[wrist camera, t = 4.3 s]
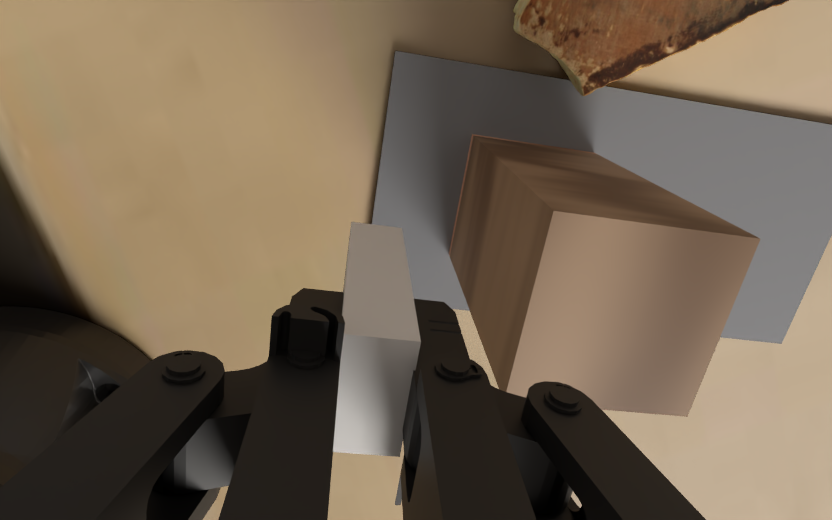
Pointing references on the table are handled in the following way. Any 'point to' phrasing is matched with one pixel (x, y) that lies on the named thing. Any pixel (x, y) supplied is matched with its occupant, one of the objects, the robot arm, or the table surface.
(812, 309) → the table surface
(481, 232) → the light brown wooden block
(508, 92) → the grey mat
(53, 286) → the table surface
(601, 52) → the shard
